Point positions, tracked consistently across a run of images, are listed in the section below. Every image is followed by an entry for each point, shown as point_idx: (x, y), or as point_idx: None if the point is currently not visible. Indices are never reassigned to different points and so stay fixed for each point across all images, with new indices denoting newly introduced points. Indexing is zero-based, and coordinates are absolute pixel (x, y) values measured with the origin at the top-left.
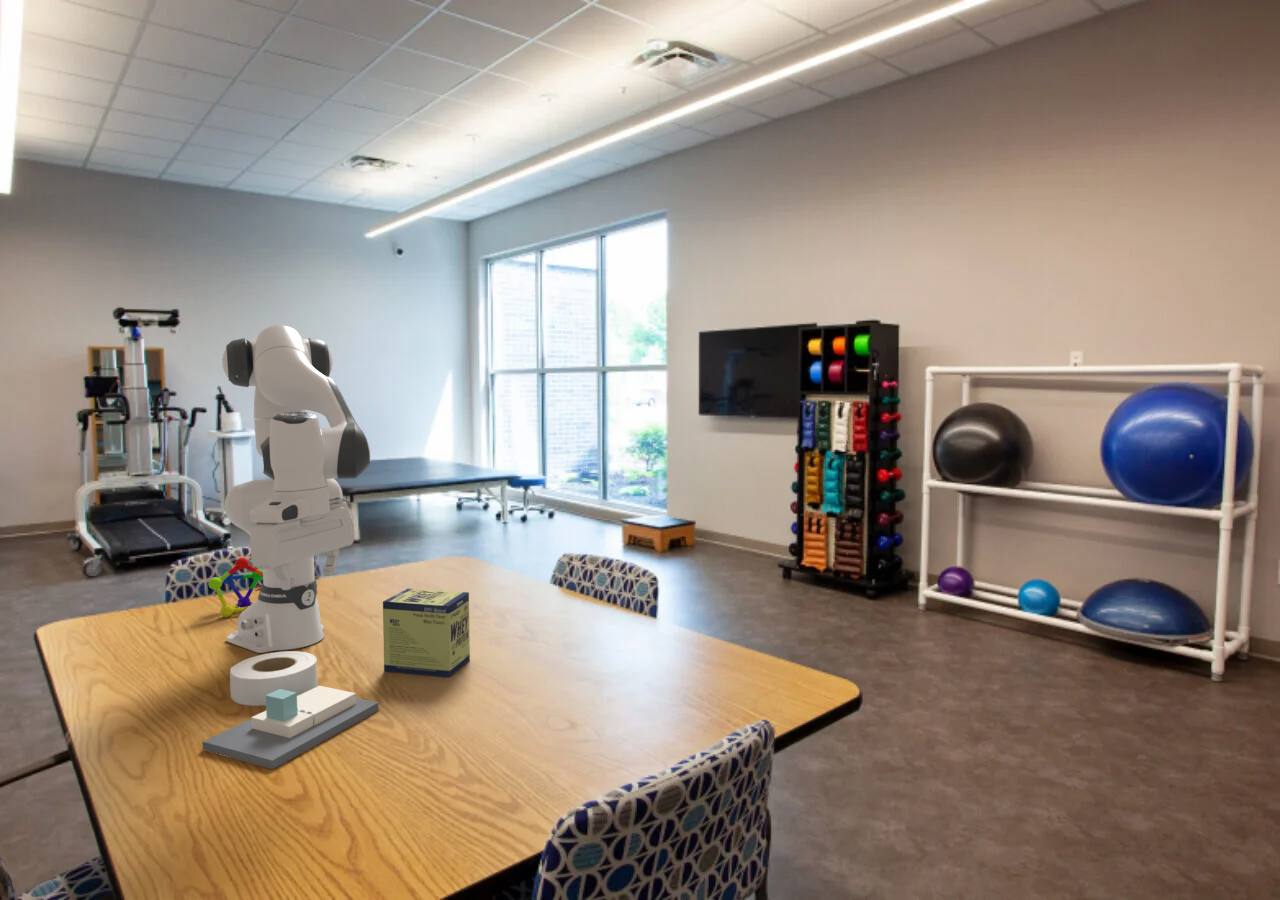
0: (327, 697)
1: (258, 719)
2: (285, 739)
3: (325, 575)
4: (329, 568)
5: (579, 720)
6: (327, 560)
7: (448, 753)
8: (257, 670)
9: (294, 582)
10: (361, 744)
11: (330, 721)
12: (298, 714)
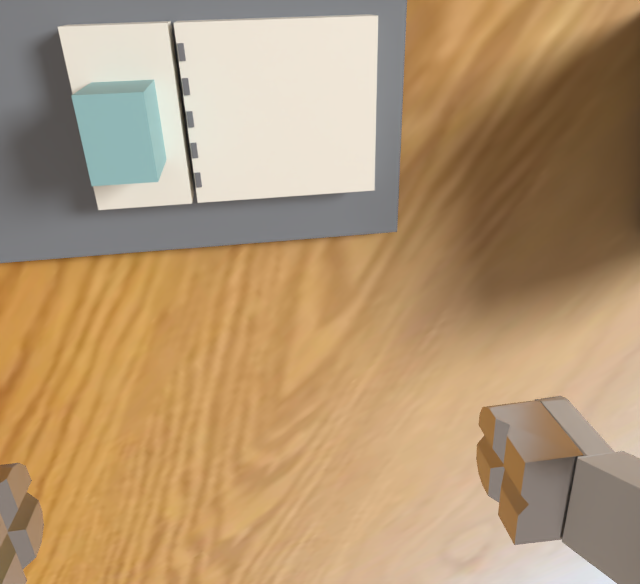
0: (310, 133)
1: (67, 65)
2: (93, 192)
3: (480, 427)
4: (507, 527)
5: (490, 560)
6: (632, 501)
7: (283, 482)
8: None
9: (20, 576)
10: (222, 327)
11: (241, 210)
12: (169, 160)
